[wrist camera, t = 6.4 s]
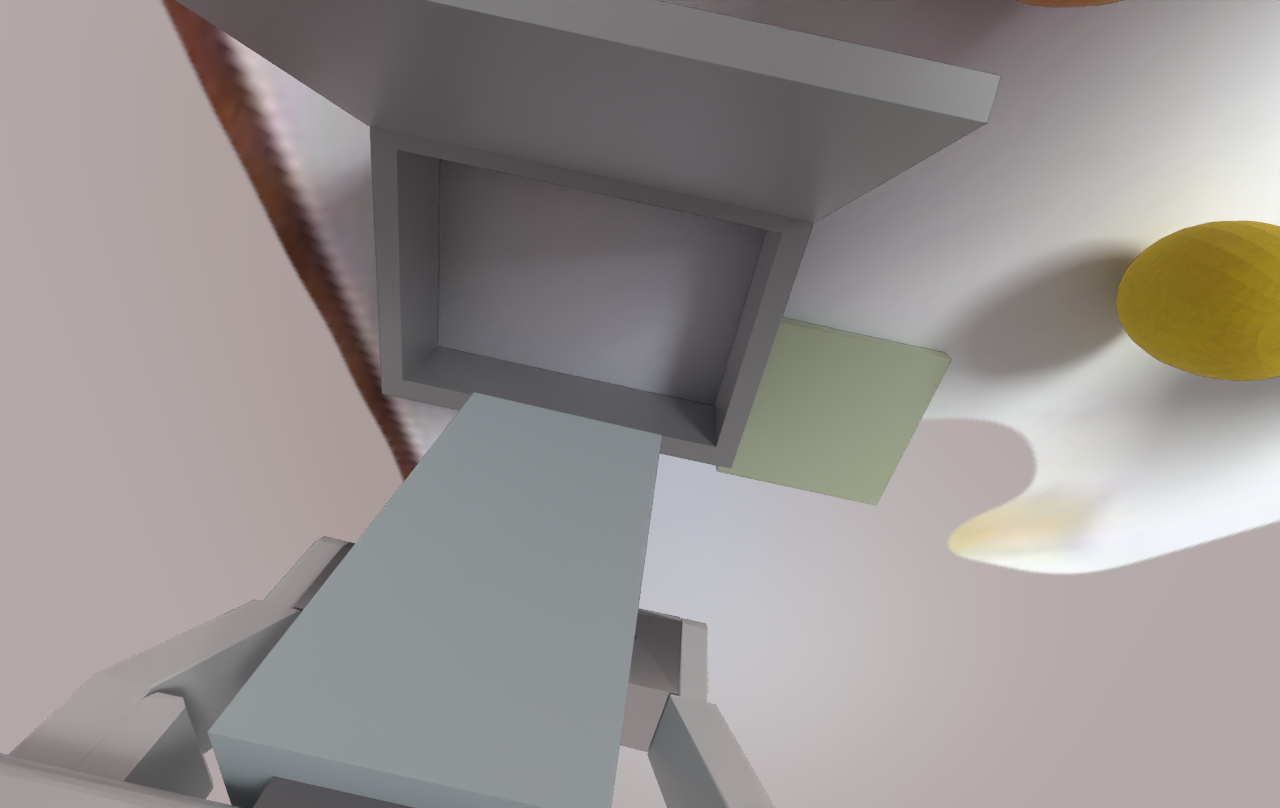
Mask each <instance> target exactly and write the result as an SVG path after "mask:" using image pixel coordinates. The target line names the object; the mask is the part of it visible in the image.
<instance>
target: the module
mask: <svg viewBox="0 0 1280 808" xmlns="http://www.w3.org/2000/svg"><path fill="white" fill-rule="evenodd" d="M661 438H662V435H659V434H654V433H650V432H645V431H641V430H637V429H632V428H628V427H624V426H619V425H615V424H610V423H606V422H602V421H597V420H593V419H589V418H584V417H580V416H575V415H571V414H567V413H562V412H558V411H554V410H549V409H545V408H541V407H536V406H532V405H527V404H523V403H519V402H514V401H510V400H506V399H501V398H497V397H492V396H488V395H484V394H479V393H475V392H474V393H473V394H472V396H471V397H470V398H469V400H468V401H467V402H466V403H465V405H464V406H463V407H462V408H461V410H460V411H459V412H458V414H457V415H456V416H455V417H454V419H453V420H452V421H451V422H450V424H449V425H448V426H447V428H446V429H445V430H444V431H443V433H442V434H441V435H440V436H439V438H438V439H437V440H436V442H435V443H434V444H433V445H432V447H431V448H430V449H429V450H428V452H427V453H426V454H425V456H424V457H423V458H422V459H421V461H420V462H419V463H418V464H417V466H416V467H415V468H414V470H413V471H412V472H411V473H410V475H409V476H408V477H407V478H406V480H405V481H404V482H403V484H402V485H401V486H400V487H399V489H398V490H397V491H396V493H395V494H394V495H393V496H392V498H391V499H390V500H389V501H388V503H387V504H386V505H385V506H384V508H383V509H382V510H381V512H380V513H379V514H378V515H377V517H376V518H375V519H374V520H373V522H372V523H371V524H370V526H369V527H368V528H367V529H366V531H365V532H364V534H363V535H362V536H361V537H360V539H359V540H358V541H357V542H356V543H355V545H354V546H353V547H352V549H351V550H350V551H349V552H348V554H347V555H346V556H345V557H344V559H343V560H342V561H341V563H340V564H339V565H338V566H337V568H336V569H335V570H334V571H333V573H332V574H331V575H330V577H329V578H328V579H327V580H326V582H325V583H324V584H323V585H322V587H321V588H320V589H319V591H318V592H317V593H316V594H315V596H314V597H313V598H312V599H311V601H310V602H309V603H308V605H307V606H306V607H305V608H304V610H303V611H302V612H301V613H300V615H299V616H298V617H297V619H296V620H295V621H294V622H293V624H292V625H291V626H290V627H289V629H288V630H287V631H286V633H285V634H284V635H283V636H282V638H281V639H280V640H279V641H278V643H277V644H276V645H275V647H274V648H273V649H272V650H271V652H270V653H269V654H268V655H267V657H266V658H265V659H264V661H263V662H262V663H261V664H260V666H259V667H258V668H257V669H256V671H255V672H254V673H253V675H252V676H251V677H250V678H249V680H248V681H247V682H246V683H245V685H244V686H243V687H242V689H241V690H240V691H239V692H238V694H237V695H236V696H235V697H234V699H233V700H232V701H231V703H230V704H229V705H228V706H227V708H226V709H225V710H224V712H223V713H222V714H221V715H220V717H219V718H218V719H217V720H216V722H215V723H214V724H213V726H212V727H211V728H210V729H209V731H208V735H209V738H210V741H211V744H212V747H213V750H214V753H215V756H216V759H217V762H218V765H219V768H220V771H221V774H222V777H223V780H224V783H225V786H226V789H227V792H228V795H229V798H230V801H231V804H232V806H236V807H241V808H611V806H612V799H613V791H614V784H615V777H616V769H617V762H618V755H619V747H620V740H621V733H622V725H623V718H624V711H625V703H626V696H627V688H628V681H629V674H630V666H631V659H632V652H633V644H634V637H635V629H636V622H637V615H638V607H639V600H640V593H641V585H642V578H643V570H644V563H645V556H646V548H647V541H648V533H649V526H650V519H651V511H652V504H653V497H654V489H655V482H656V475H657V467H658V460H659V452H660V445H661Z"/></svg>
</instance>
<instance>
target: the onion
mask: <svg viewBox="0 0 1280 808" xmlns="http://www.w3.org/2000/svg"><path fill="white" fill-rule="evenodd" d="M1016 1H1019V2H1022V3H1025V4H1029V5H1034V6H1044V7H1082V6H1095V5H1104V4H1111V3H1115V2H1119V1H1123V0H1016Z"/></svg>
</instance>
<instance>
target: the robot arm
mask: <svg viewBox="0 0 1280 808" xmlns="http://www.w3.org/2000/svg"><path fill="white" fill-rule="evenodd" d="M354 545H355V543H351V542H346V541H342V540H337V539H334V538H330V537H326V536H324V537H322V538H321V539H319V540H317V541H316V542H314V544H313V545H312V546H311V547H310V548H309V549H308V550H307V552H306V553H305V554H304V555H303V556H302V557H301V558H300V559H299V560H298V562H297V563H296V564H295V565H294V566H293V567H292V568H291V570H290V571H289V572H288V573H287V574H286V575H285V576H284V577H283V579H282V580H281V581H280V582H279V583H278V584H277V585H276V586H275V588H274V589H273V590H272V591H271V592H270V593H269V594H268V596H267V597H266V598H265V599H264V600H263V601H258V600H253V601H251V602H248V603H246V604H244V605H242V606H240V607H238V608H236V609H233V610H231V611H229V612H227V613H225V614H223V615H221V616H219V617H216V618H214V619H212V620H210V621H208V622H205V623H203V624H201V625H199V626H197V627H195V628H193V629H190V630H188V631H186V632H184V633H182V634H180V635H178V636H175V637H174V638H171V639H169V640H167V641H165V642H163V643H160V644H158V645H156V646H154V647H152V648H150V649H148V650H145V651H143V652H141V653H139V654H137V655H135V656H132V657H130V658H128V659H126V660H124V661H122V662H119V663H117V664H115V665H113V666H111V667H109V668H107V669H104V670H103V671H100V672H98V673H96V674H94V675H93V676H92V677H91V678H89V679H88V680H87V681H86V682H85V683H84V684H83V685H82V686H81V687H80V688H79V689H78V690H77V691H76V692H75V693H74V694H72V695H71V696H70V697H69V698H68V699H67V700H66V701H65V702H64V703H63V704H62V705H61V706H60V707H59V708H58V709H56V710H55V711H54V712H53V713H52V714H51V715H50V716H49V717H48V718H47V719H46V720H45V721H44V722H43V723H42V724H40V725H39V726H38V727H37V728H36V729H35V730H34V731H33V732H32V733H31V734H30V735H29V736H28V737H27V738H26V739H24V741H22V742H21V743H20V744H19V745H18V746H17V747H16V748H15V749H14V750H13V751H12V752H11V753H10V754H8V755H6V754H1V753H0V808H241V807H236V806H232V805H228V804H223V803H219V802H214V801H210V800H205V799H206V798H207V796H208V795H209V793H210V792H211V791H212V789H213V782H212V777H211V774H210V771H209V768H208V766H207V763H206V760H205V757H204V753H206V752H207V751H208V750H210V749H211V748H213V747H212V744H211V741H210V738H209V735H208V731H209V729H210V728H211V727H212V726H213V724H214V723H215V722H216V720H217V719H218V718H219V717H220V715H221V714H222V713H223V712H224V710H225V709H226V708H227V706H228V705H229V704H230V703H231V701H232V700H233V699H234V697H235V696H236V695H237V694H238V692H239V691H240V690H241V689H242V687H243V686H244V685H245V683H246V682H247V681H248V680H249V678H250V677H251V676H252V675H253V673H254V672H255V671H256V669H257V668H258V667H259V666H260V664H261V663H262V662H263V661H264V659H265V658H266V657H267V655H268V654H269V653H270V652H271V650H272V649H273V648H274V647H275V645H276V644H277V643H278V641H279V640H280V639H281V638H282V636H283V635H284V634H285V633H286V631H287V630H288V629H289V627H290V626H291V625H292V624H293V622H294V621H295V620H296V619H297V617H298V616H299V615H300V613H301V612H302V611H303V610H304V608H305V607H306V606H307V605H308V603H309V602H310V601H311V599H312V598H313V597H314V596H315V594H316V593H317V592H318V591H319V589H320V588H321V587H322V585H323V584H324V583H325V582H326V580H327V579H328V578H329V577H330V575H331V574H332V573H333V571H334V570H335V569H336V568H337V566H338V565H339V564H340V563H341V561H342V560H343V559H344V557H345V556H346V555H347V554H348V552H349V551H350V550H351V549H352V547H353V546H354ZM620 745H622V746H626V747H630V748H634V749H638V750H641V751H645V752H648V757H649V760H650V763H651V765H652V768H653V771H654V773H655V776H656V779H657V782H658V784H659V787H660V790H661V792H662V795H663V797H664V800H665V803H666V806H667V808H776V807H775V806H774V804H773V802H772V800H771V799H770V797H769V795H768V794H767V792H766V790H765V788H764V787H763V785H762V783H761V781H760V780H759V778H758V776H757V775H756V773H755V771H754V769H753V768H752V766H751V764H750V762H749V761H748V759H747V757H746V756H745V754H744V752H743V750H742V749H741V747H740V745H739V744H738V742H737V740H736V738H735V736H734V735H733V733H732V731H731V730H730V728H729V726H728V724H727V723H726V721H725V719H724V717H723V716H722V714H721V712H720V711H719V709H718V707H717V705H716V704H712V703H708V627H707V625H706V623H701V622H696V621H692V620H688V619H683V618H681V619H680V617H677V616H672V615H667V614H662V613H658V612H653V611H648V610H644V609H639V608H638V615H637V622H636V629H635V637H634V644H633V652H632V659H631V666H630V674H629V681H628V688H627V696H626V703H625V711H624V718H623V725H622V733H621V740H620Z"/></svg>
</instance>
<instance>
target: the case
mask: <svg viewBox="0 0 1280 808" xmlns="http://www.w3.org/2000/svg"><path fill="white" fill-rule="evenodd" d="M176 1H178V2H179V3H181V4H183V5H184V6H186V7H187V8H189V9H190V10H192V11H193V12H195V13H196V14H198V15H199V16H201V17H202V18H204V19H205V20H207V21H209V22H210V23H212V24H213V25H215V26H216V27H218V28H219V29H221V30H222V31H224V32H225V33H227V34H228V35H230V36H231V37H233V38H235V39H236V40H238V41H239V42H241V43H242V44H244V45H245V46H247V47H248V48H250V49H251V50H253V51H254V52H256V53H257V54H259V55H261V56H262V57H264V58H265V59H267V60H268V61H270V62H271V63H273V64H274V65H276V66H277V67H279V68H280V69H282V70H283V71H285V72H287V73H288V74H290V75H291V76H293V77H294V78H296V79H297V80H299V81H300V82H302V83H303V84H305V85H306V86H308V87H309V88H311V89H313V90H314V91H316V92H317V93H319V94H320V95H322V96H323V97H325V98H326V99H328V100H329V101H331V102H332V103H334V104H335V105H337V106H339V107H340V108H342V109H343V110H345V111H346V112H348V113H349V114H351V115H352V116H354V117H355V118H357V119H358V120H360V121H361V122H363V123H365V124H366V125H368V126H370V140H371V162H372V184H373V206H374V228H375V250H376V272H377V294H378V316H379V338H380V360H381V382H382V394H386V395H391V396H395V397H400V398H405V399H409V400H414V401H418V402H423V403H428V404H432V405H437V406H442V407H446V408H451V409H456V410H461V408H462V407H463V406H464V405H465V403H466V402H467V401H468V400H469V398H470V397H471V396H472V394H473V393H474V392H475V393H479V394H484V395H488V396H492V397H497V398H501V399H506V400H510V401H514V402H519V403H523V404H527V405H532V406H536V407H541V408H545V409H549V410H554V411H558V412H562V413H567V414H571V415H575V416H580V417H584V418H589V419H593V420H597V421H602V422H606V423H610V424H615V425H619V426H624V427H628V428H632V429H637V430H641V431H645V432H650V433H654V434H659V435H662V438H661V445H660V452H659V453H660V454H665V455H670V456H675V457H679V458H684V459H688V460H693V461H698V462H702V463H707V464H712V465H716V466H721V467H726V468H730V469H731V468H732V465H733V462H734V459H735V456H736V453H737V450H738V447H739V444H740V441H741V438H742V435H743V432H744V429H745V426H746V423H747V420H748V417H749V414H750V411H751V408H752V405H753V402H754V399H755V396H756V393H757V390H758V387H759V384H760V382H761V379H762V376H763V373H764V370H765V367H766V364H767V361H768V358H769V355H770V352H771V349H772V346H773V343H774V340H775V337H776V334H777V331H778V328H779V325H780V322H781V319H782V316H783V313H784V310H785V307H786V304H787V301H788V298H789V295H790V292H791V289H792V286H793V283H794V280H795V277H796V274H797V271H798V268H799V265H800V262H801V259H802V256H803V253H804V250H805V247H806V244H807V241H808V238H809V235H810V232H811V229H812V226H813V223H815V222H817V221H819V220H820V219H822V218H824V217H826V216H827V215H829V214H831V213H832V212H834V211H836V210H838V209H839V208H841V207H843V206H845V205H846V204H848V203H850V202H851V201H853V200H855V199H857V198H858V197H860V196H862V195H864V194H865V193H867V192H869V191H871V190H872V189H874V188H876V187H877V186H879V185H881V184H883V183H884V182H886V181H888V180H890V179H891V178H893V177H895V176H897V175H898V174H900V173H902V172H903V171H905V170H907V169H909V168H910V167H912V166H914V165H916V164H917V163H919V162H921V161H923V160H924V159H926V158H928V157H929V156H931V155H933V154H935V153H936V152H938V151H940V150H942V149H943V148H945V147H947V146H948V145H950V144H952V143H954V142H955V141H957V140H959V139H961V138H962V137H964V136H966V135H968V134H969V133H971V132H973V131H974V130H976V129H978V128H980V127H981V126H983V125H985V124H987V122H988V119H989V115H990V112H991V108H992V105H993V102H994V98H995V95H996V92H997V88H998V85H999V81H1000V78H1001V76H1000V75H996V74H991V73H987V72H982V71H977V70H973V69H968V68H964V67H959V66H955V65H950V64H946V63H941V62H936V61H932V60H927V59H923V58H918V57H914V56H909V55H905V54H900V53H895V52H891V51H886V50H882V49H877V48H873V47H868V46H864V45H859V44H854V43H850V42H845V41H841V40H836V39H832V38H827V37H823V36H818V35H813V34H809V33H804V32H800V31H795V30H791V29H786V28H782V27H777V26H772V25H768V24H763V23H759V22H754V21H750V20H745V19H741V18H736V17H731V16H727V15H722V14H718V13H713V12H709V11H704V10H700V9H695V8H690V7H686V6H681V5H677V4H672V3H668V2H663V1H659V0H176ZM440 159H443V160H447V161H452V162H457V163H461V164H466V165H470V166H475V167H480V168H484V169H489V170H493V171H498V172H503V173H507V174H512V175H516V176H521V177H526V178H530V179H535V180H539V181H544V182H549V183H553V184H558V185H562V186H567V187H572V188H576V189H581V190H585V191H590V192H595V193H599V194H604V195H608V196H613V197H618V198H622V199H627V200H631V201H636V202H641V203H645V204H650V205H654V206H659V207H664V208H668V209H673V210H677V211H682V212H687V213H691V214H696V215H700V216H705V217H710V218H714V219H719V220H723V221H728V222H733V223H737V224H742V225H746V226H751V227H756V228H760V229H765V230H767V231H766V234H765V237H764V241H763V244H762V247H761V251H760V254H759V258H758V261H757V264H756V268H755V271H754V275H753V278H752V281H751V285H750V288H749V291H748V295H747V298H746V302H745V305H744V308H743V312H742V315H741V318H740V322H739V325H738V329H737V332H736V335H735V339H734V342H733V346H732V349H731V352H730V356H729V359H728V362H727V366H726V369H725V373H724V376H723V379H722V383H721V386H720V389H719V393H718V396H717V400H716V403H715V406H712V405H707V404H703V403H698V402H693V401H689V400H684V399H679V398H675V397H670V396H666V395H661V394H656V393H652V392H647V391H642V390H638V389H633V388H628V387H624V386H619V385H614V384H610V383H605V382H601V381H596V380H591V379H587V378H582V377H577V376H573V375H568V374H563V373H559V372H554V371H550V370H545V369H540V368H536V367H531V366H526V365H522V364H517V363H512V362H508V361H503V360H498V359H494V358H489V357H485V356H480V355H475V354H471V353H466V352H461V351H457V350H452V349H447V348H443V347H438V268H439V173H440Z"/></svg>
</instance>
